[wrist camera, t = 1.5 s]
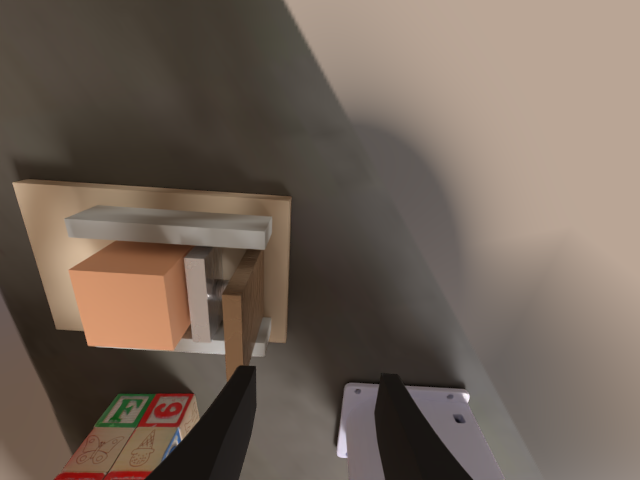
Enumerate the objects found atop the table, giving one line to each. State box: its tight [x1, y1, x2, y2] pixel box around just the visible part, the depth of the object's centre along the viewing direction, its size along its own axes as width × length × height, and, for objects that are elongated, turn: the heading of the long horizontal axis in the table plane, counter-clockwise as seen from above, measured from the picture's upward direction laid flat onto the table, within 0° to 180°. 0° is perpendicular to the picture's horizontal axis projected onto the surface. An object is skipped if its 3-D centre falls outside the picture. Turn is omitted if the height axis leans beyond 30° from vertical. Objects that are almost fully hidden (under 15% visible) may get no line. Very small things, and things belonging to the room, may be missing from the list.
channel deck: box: [12, 179, 292, 357], centre depth 19 cm, size 16×10×4 cm, turn 86°
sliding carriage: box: [184, 245, 264, 382], centre depth 17 cm, size 4×5×6 cm
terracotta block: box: [68, 240, 196, 351], centre depth 18 cm, size 4×4×4 cm
